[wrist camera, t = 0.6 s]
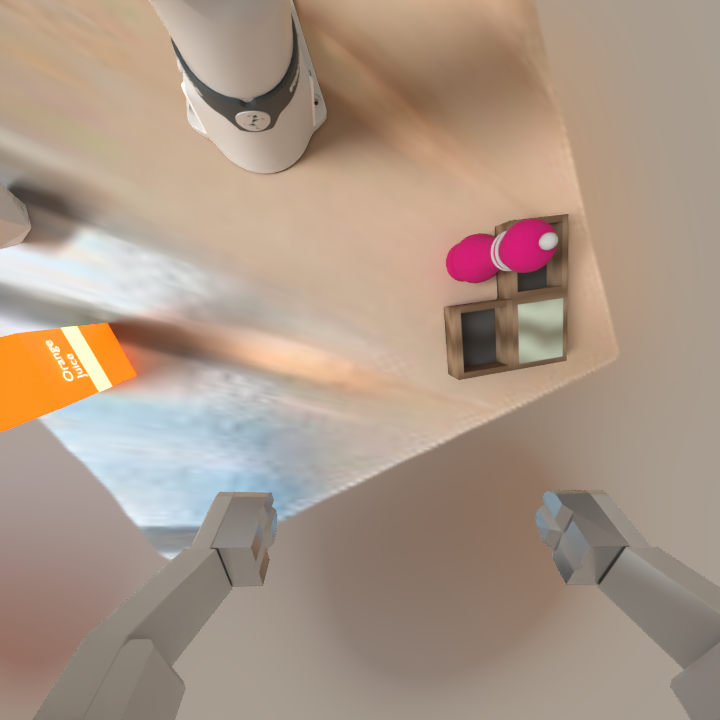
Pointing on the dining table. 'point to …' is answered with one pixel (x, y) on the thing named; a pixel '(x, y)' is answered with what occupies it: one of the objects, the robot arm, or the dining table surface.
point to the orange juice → (57, 370)
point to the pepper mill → (503, 251)
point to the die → (12, 219)
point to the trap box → (513, 317)
